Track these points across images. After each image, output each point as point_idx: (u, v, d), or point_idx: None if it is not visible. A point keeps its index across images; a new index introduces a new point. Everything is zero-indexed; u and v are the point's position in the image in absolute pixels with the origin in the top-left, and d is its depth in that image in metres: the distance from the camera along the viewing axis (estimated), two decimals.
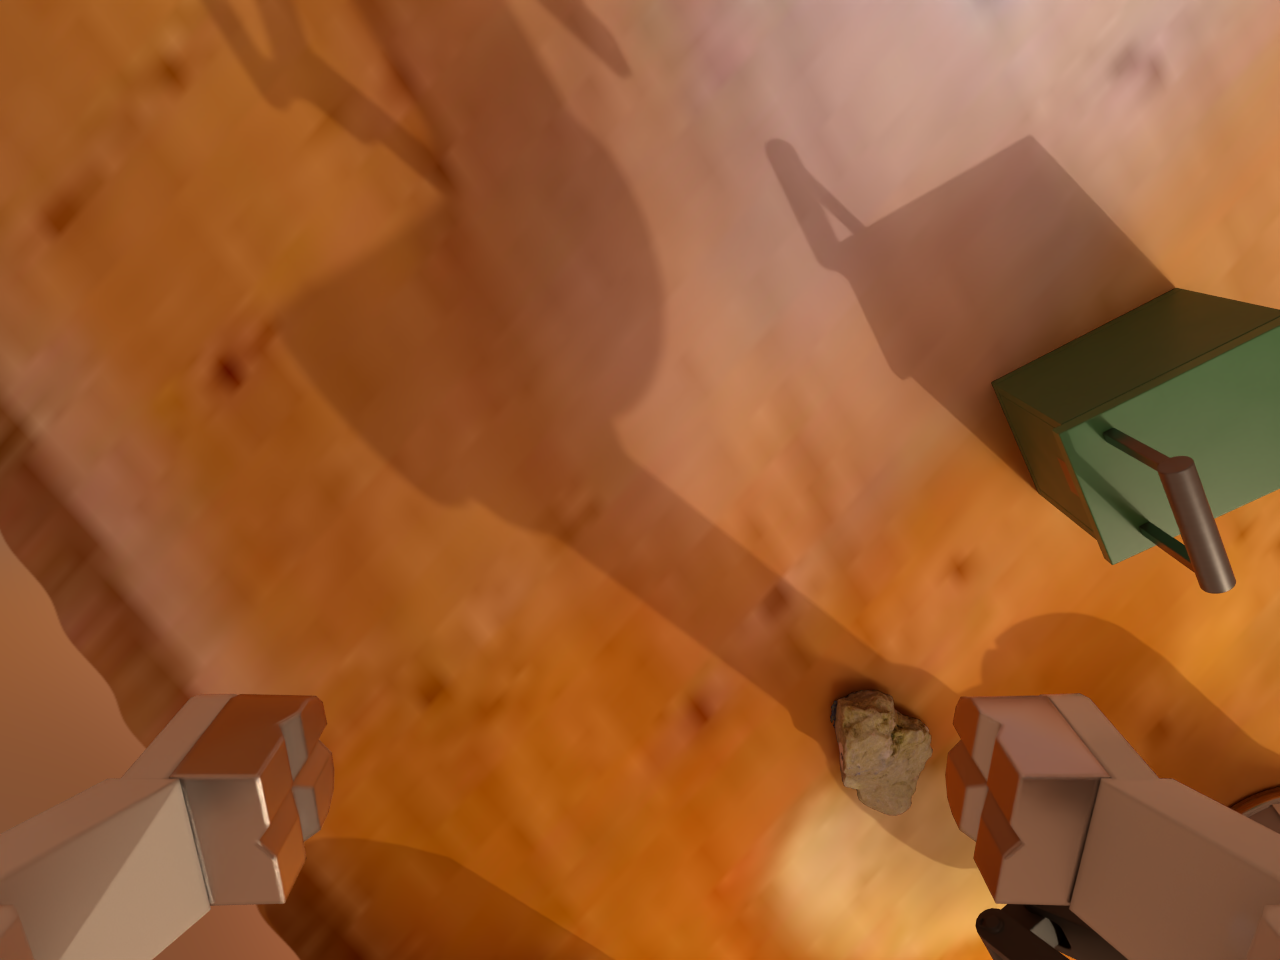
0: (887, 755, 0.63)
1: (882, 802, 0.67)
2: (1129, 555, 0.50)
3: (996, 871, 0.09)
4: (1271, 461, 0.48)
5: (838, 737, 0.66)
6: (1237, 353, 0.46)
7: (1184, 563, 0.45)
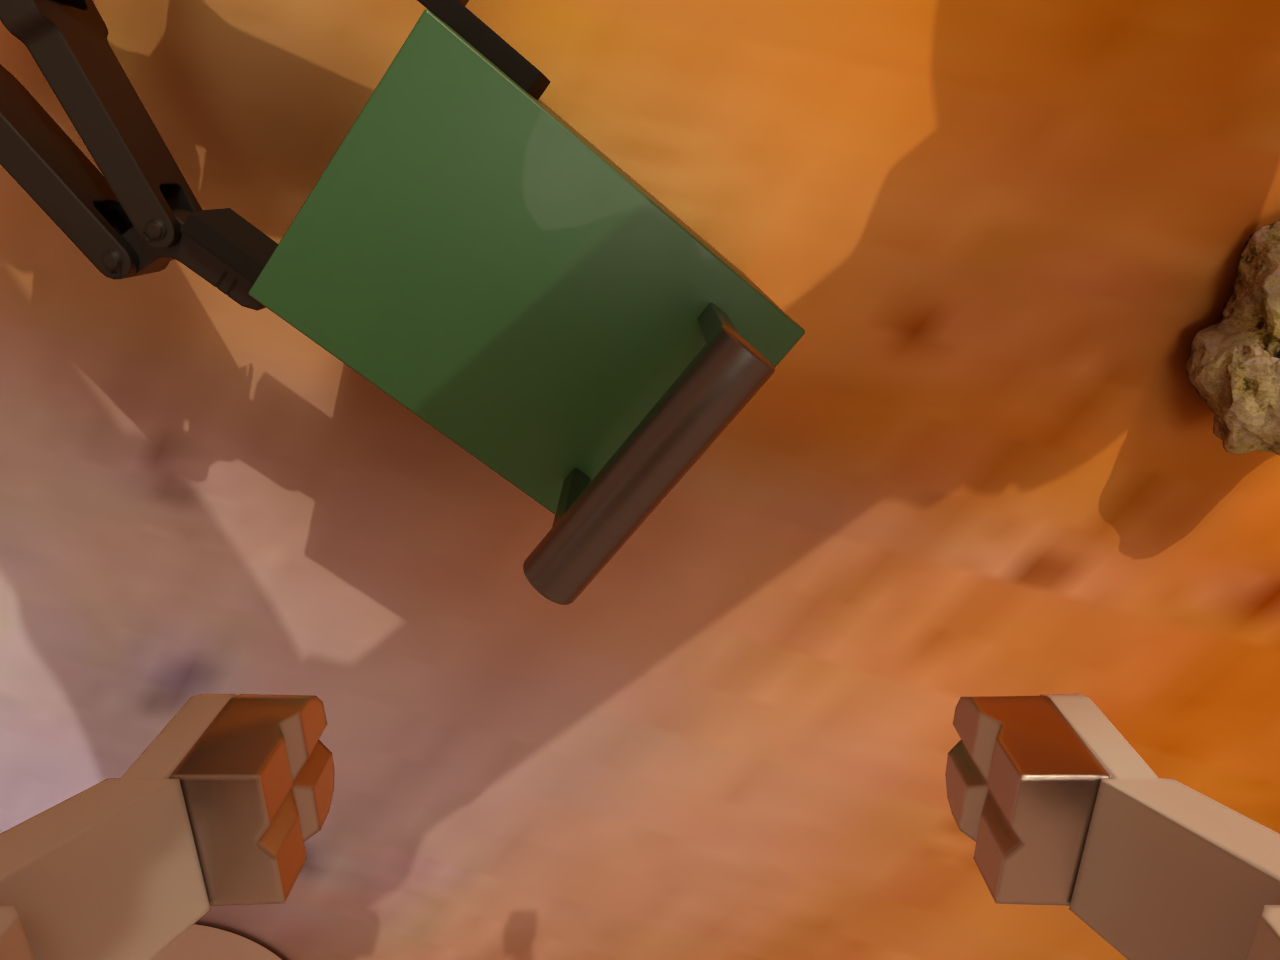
0: None
1: None
2: (775, 313, 0.25)
3: (996, 871, 0.09)
4: (495, 161, 0.23)
5: None
6: (358, 359, 0.25)
7: None
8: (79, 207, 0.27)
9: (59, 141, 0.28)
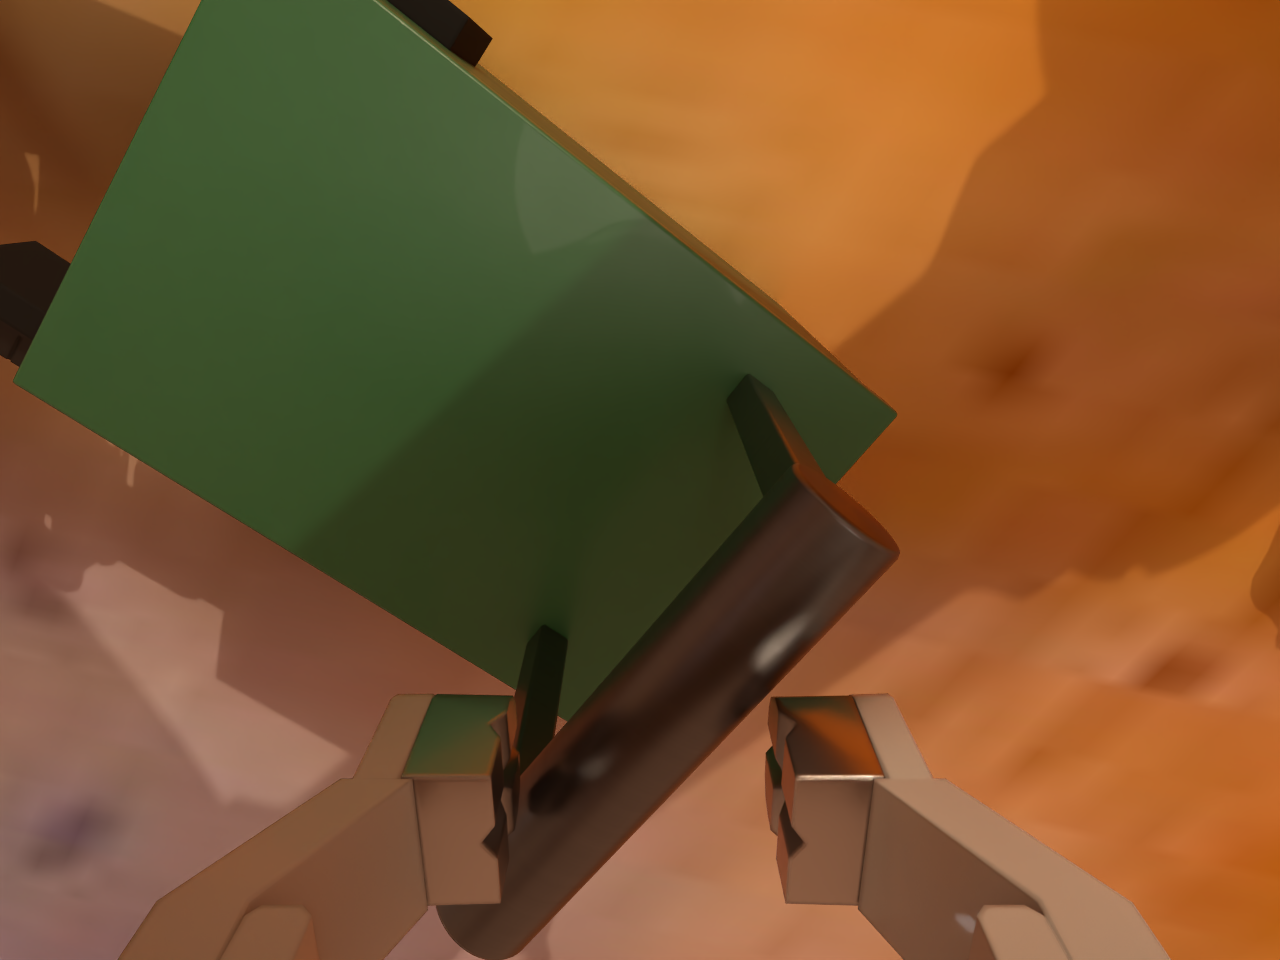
0: None
1: None
2: (850, 388, 0.16)
3: (785, 871, 0.09)
4: (388, 159, 0.14)
5: None
6: (197, 476, 0.16)
7: None
8: None
9: None
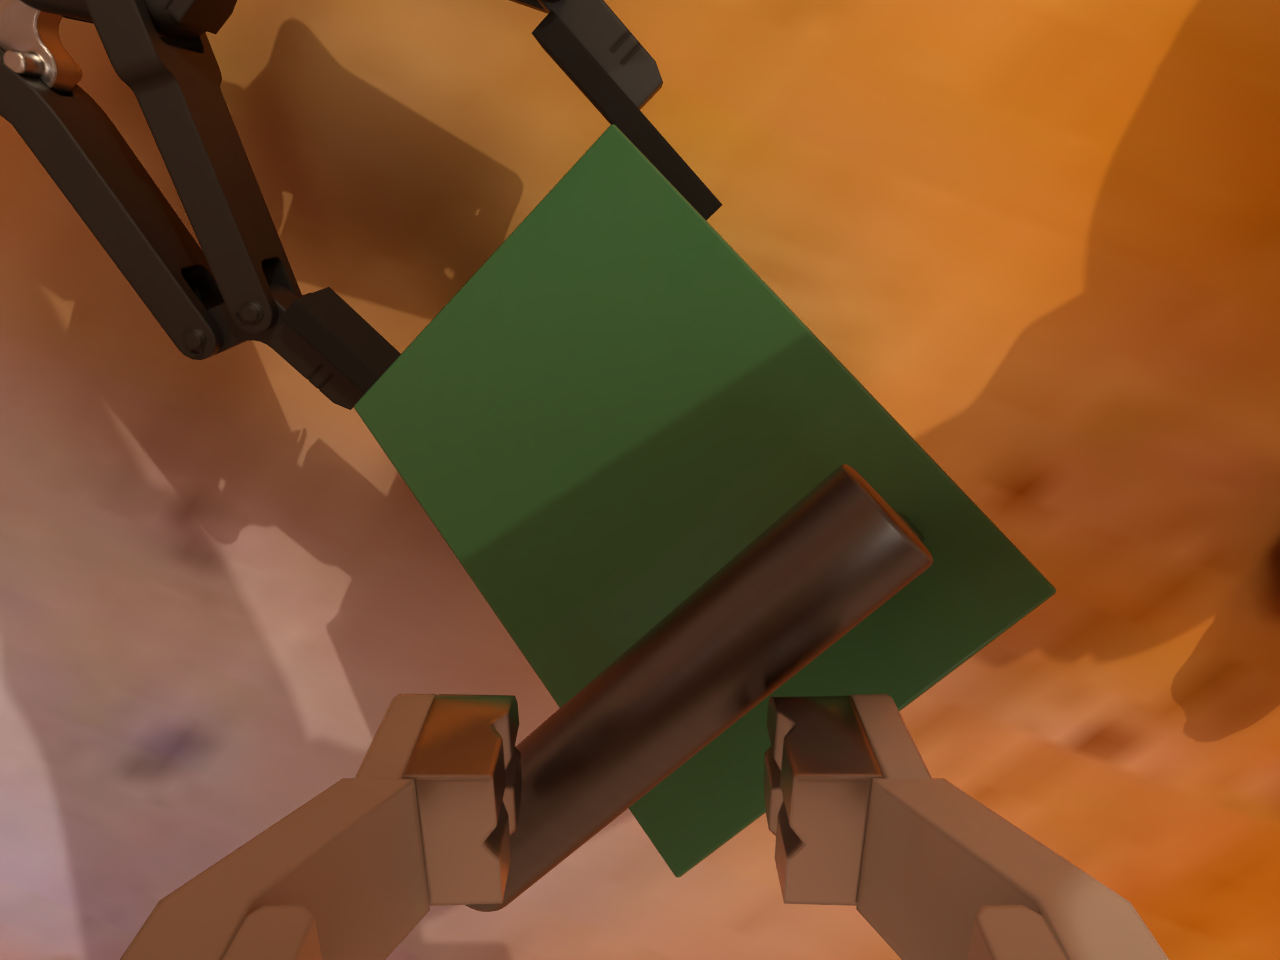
0: None
1: None
2: (1006, 550, 0.15)
3: (783, 871, 0.09)
4: (646, 290, 0.18)
5: None
6: (435, 502, 0.20)
7: None
8: (166, 277, 0.23)
9: (149, 193, 0.24)
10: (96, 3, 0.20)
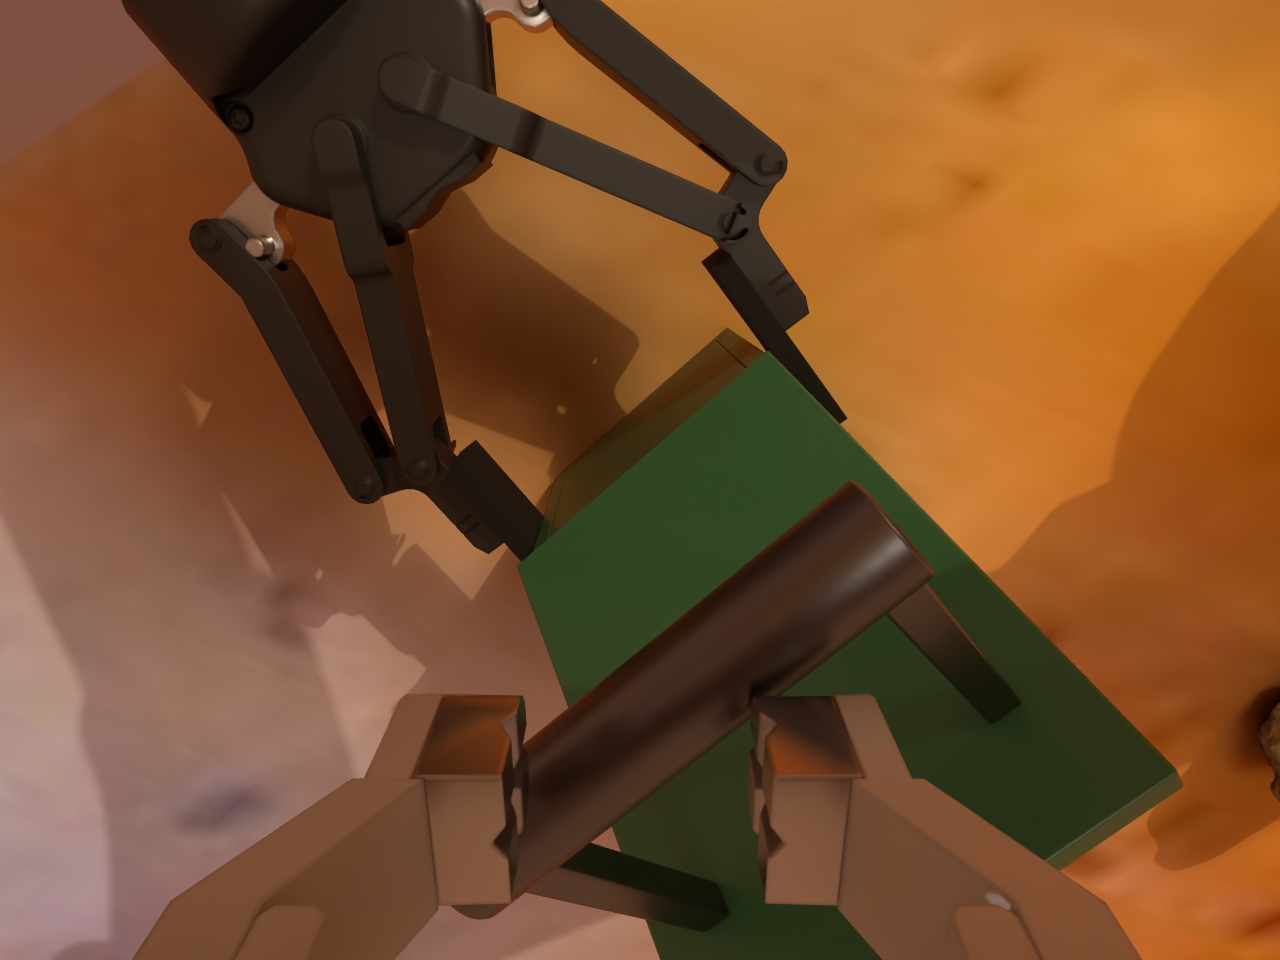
0: None
1: None
2: (1114, 720, 0.14)
3: (765, 871, 0.09)
4: (774, 471, 0.21)
5: None
6: (560, 648, 0.22)
7: (935, 626, 0.12)
8: (350, 433, 0.26)
9: (337, 353, 0.27)
10: (342, 215, 0.24)
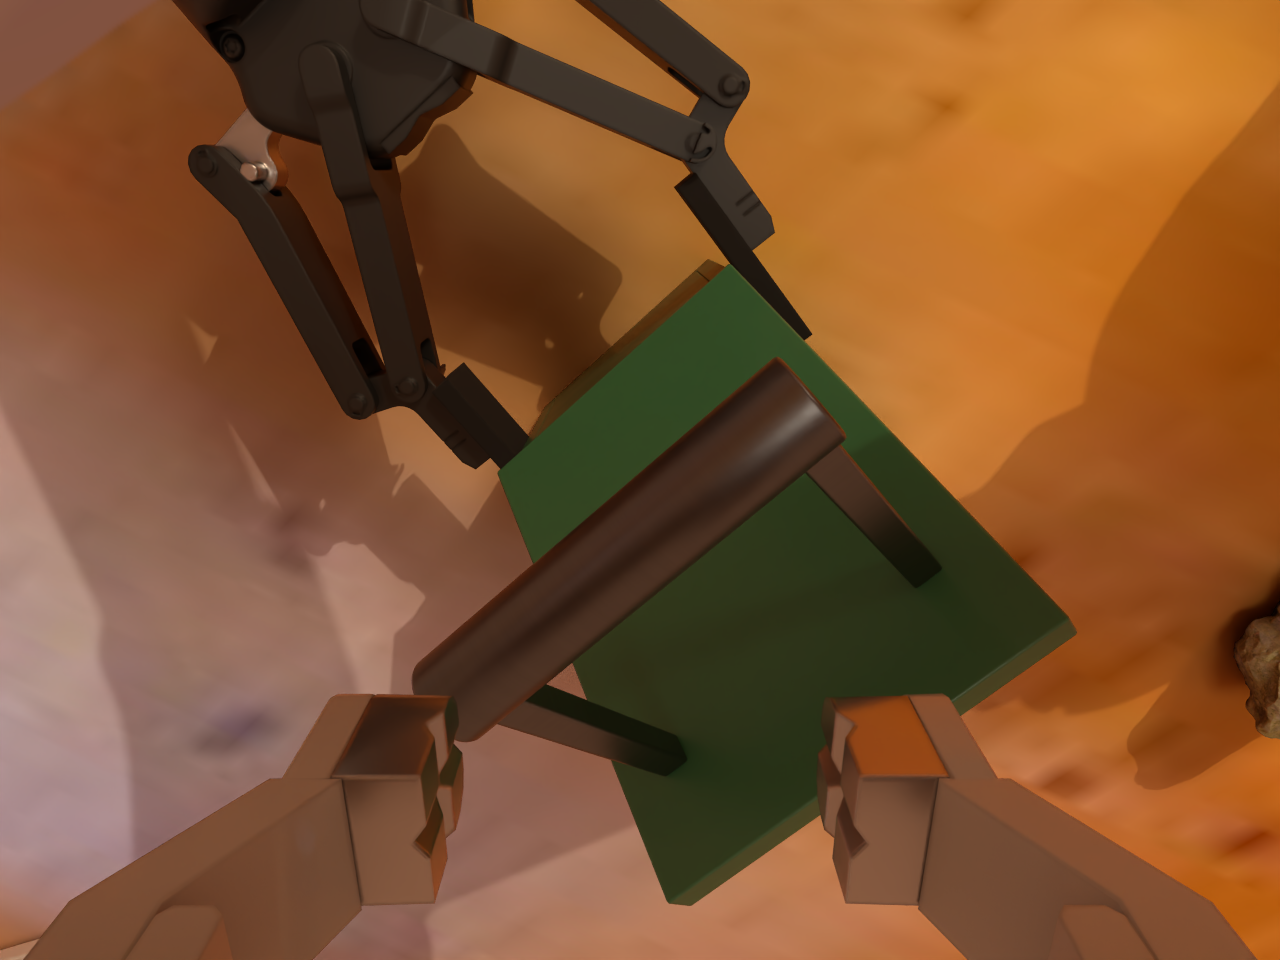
0: None
1: None
2: (1020, 579, 0.16)
3: (844, 871, 0.09)
4: (733, 376, 0.22)
5: None
6: (538, 544, 0.24)
7: (855, 489, 0.14)
8: (342, 351, 0.28)
9: (329, 277, 0.29)
10: (329, 138, 0.25)
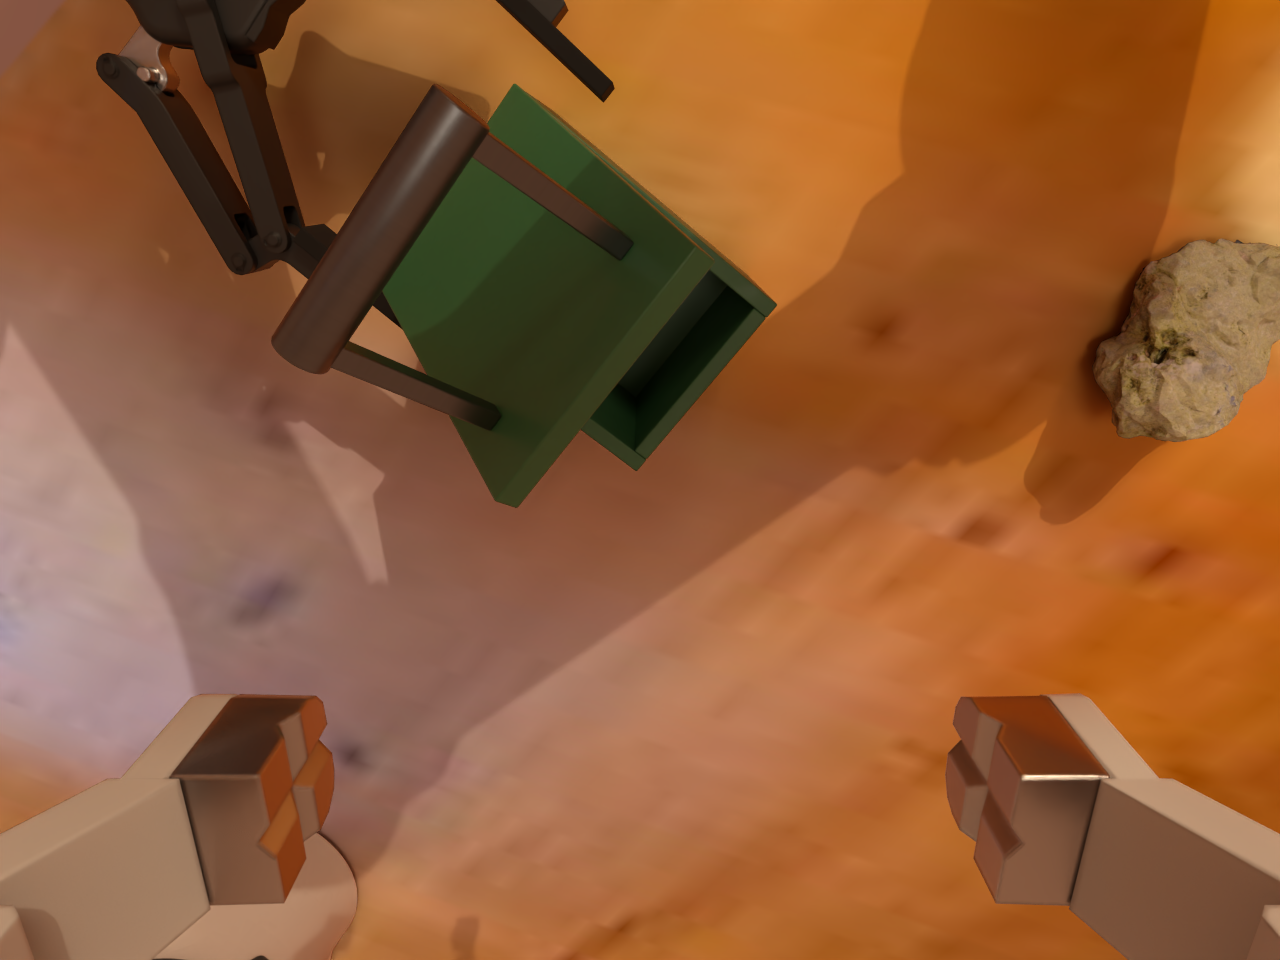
0: (1195, 366, 0.41)
1: None
2: (673, 232, 0.23)
3: (996, 871, 0.09)
4: None
5: None
6: (408, 322, 0.32)
7: (522, 173, 0.21)
8: (224, 218, 0.36)
9: (216, 163, 0.37)
10: (204, 35, 0.33)
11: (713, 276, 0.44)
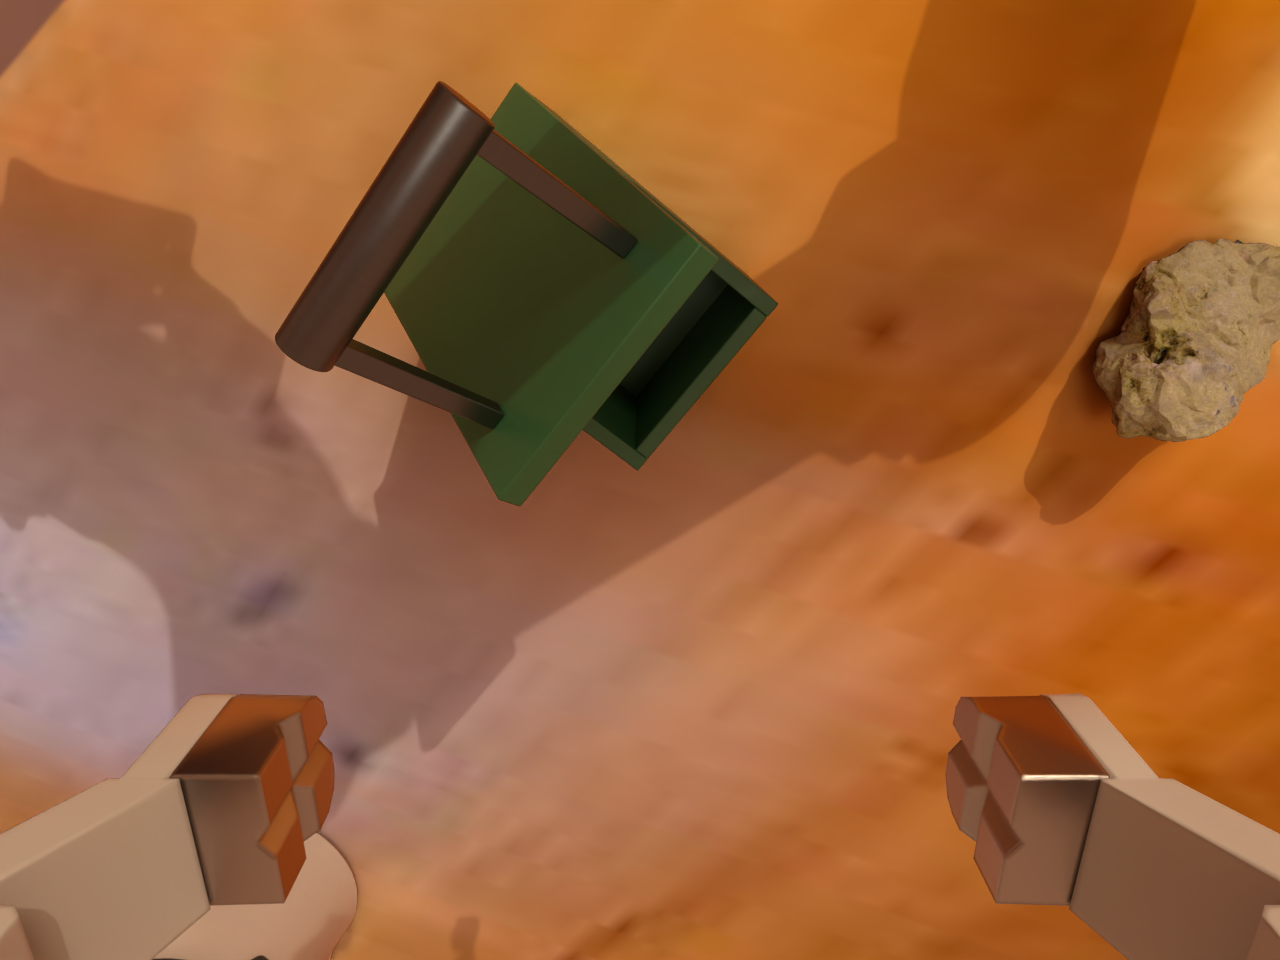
0: (1195, 366, 0.41)
1: None
2: (676, 230, 0.23)
3: (996, 871, 0.09)
4: None
5: None
6: (409, 321, 0.32)
7: (527, 171, 0.21)
8: None
9: None
10: None
11: (713, 276, 0.44)
